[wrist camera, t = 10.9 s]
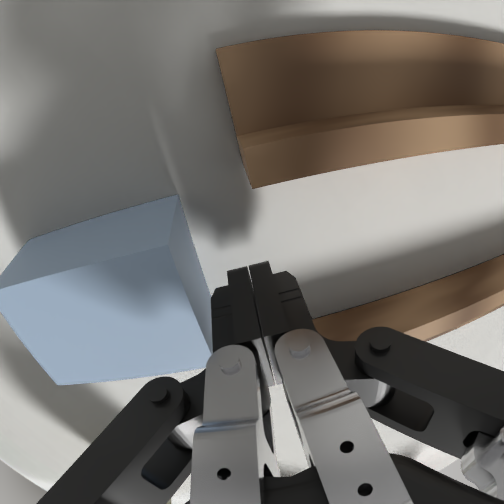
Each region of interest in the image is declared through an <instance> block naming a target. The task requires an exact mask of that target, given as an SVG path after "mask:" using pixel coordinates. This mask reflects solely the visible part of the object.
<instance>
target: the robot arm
mask: <svg viewBox="0 0 504 504" xmlns="http://www.w3.org/2000/svg"><path fill="white" fill-rule="evenodd" d="M249 270H250V275H251V279H250V275H249V271H248V268H247V266H246V267H242V268H238V269H233V270H229V271H227V276H228V285H227V286H223V287H219V288H216V289H215V291H214V293H213V295H212V297H211V319H212V320H211V323H212V346H213V354H212V355H211V356H210V357H209V359H208V361H207V363H206V368H205V369H204V370H203V371H202V372H201V373H199V374H198V375H196V376H194V377H192V378H190V379H188V380H186V381H184V382H181V383H179V382H178V381H177V380H176V379H174V378H171V377H159V378H155V379H153V380H151V381H149V382H148V383H147V384H145V385H144V386H143V387H142V389H141V390H140V391H139V392H138V393H137V394H136V395H135V396H134V397H133V399H132V400H131V401H130V402H129V403H128V404H127V405H126V406H125V407H124V409H123V410H122V411H121V412H120V413H119V414H118V415H117V416H116V417H115V418H114V420H113V421H112V422H111V423H110V424H109V425H108V426H107V427H106V428H105V430H104V431H103V432H102V433H101V434H100V435H99V436H98V437H97V438H96V439H95V441H94V442H93V443H92V444H91V445H90V446H89V447H88V448H87V449H86V450H85V451H84V453H83V454H82V455H81V456H80V457H79V458H78V459H77V460H76V461H75V462H74V464H73V465H72V466H71V467H70V468H69V469H68V470H67V471H66V472H65V473H64V474H63V476H62V477H61V478H60V479H59V480H58V481H57V482H56V483H55V484H54V485H53V486H52V487H51V489H50V490H49V491H48V492H47V493H46V494H45V495H44V496H43V497H42V498H41V499H40V500H39V502H38V503H37V504H166V503H167V502H168V501H169V500H170V498H171V497H172V496H173V495H174V494H175V492H176V491H177V490H178V489H179V487H180V486H181V485H182V484H183V482H184V481H185V480H186V478H187V477H188V476H189V475H190V473H191V491H190V500H189V501H188V502H186V503H185V504H504V371H501V370H499V369H496V368H493V367H491V366H488V365H485V364H483V363H480V362H477V361H475V360H472V359H469V358H467V357H464V356H461V355H459V354H456V353H454V352H451V351H448V350H446V349H443V348H440V347H438V346H435V345H433V344H430V343H428V342H425V341H422V340H420V339H417V338H415V337H412V336H410V335H407V334H404V333H402V332H399V331H397V330H394V329H392V328H389V327H373V328H370V329H367V330H365V331H364V332H362V333H361V334H360V335H359V336H358V338H357V340H356V341H334V340H330V339H327V338H325V337H323V336H322V335H321V334H319V333H318V331H317V330H316V328H315V326H314V324H313V321H312V318H311V316H310V313H309V311H308V308H307V306H306V303H305V301H304V298H303V296H302V293H301V291H300V288H299V286H298V283H297V281H296V278H295V277H294V276H292V275H291V274H290V273H288V272H287V271H284V272H280V273H276V274H272V271H271V268H270V264H269V261H266V262H262V263H258V264H254V265H249ZM251 280H252V282H251ZM252 284H253V286H252ZM253 289H254V290H253ZM269 358H270V360H269ZM270 362H271V365H272V369H273V372H274V376H275V380H276V383H277V384H283V387H284V391H285V395H286V399H287V403H288V406H289V409H290V412H291V415H292V418H293V421H294V424H295V427H296V430H297V432H298V435H299V438H300V441H301V444H302V447H303V450H304V453H305V456H306V460H307V463H308V466H309V468H308V469H306V470H304V471H302V472H300V473H298V474H296V475H294V476H291V477H281V476H280V470H279V466H278V462H277V456H276V447H275V437H274V427H273V417H272V408H271V398H270V393H269V388H268V387H269V386H274V385H275V383H274V379H273V374H272V369H271V365H270ZM371 418H372V419H374V420H376V421H378V422H380V423H382V424H384V425H386V426H388V427H391V428H393V429H395V430H397V431H399V432H401V433H403V434H405V435H407V436H409V437H412V438H414V439H416V440H418V441H420V442H422V443H425V444H427V445H429V446H431V447H434V448H436V449H438V450H441V451H443V452H445V453H448V454H450V455H452V456H455V457H457V458H460V459H461V470H462V473H463V475H464V476H465V478H466V479H467V480H469V481H470V482H472V483H474V484H475V485H476V486H477V487H478V489H479V490H477V489H474V488H472V487H470V486H467V485H465V484H463V483H461V482H459V481H456V480H454V479H452V478H450V477H448V476H446V475H444V474H442V473H439V472H437V471H435V470H433V469H431V468H429V467H427V466H425V465H423V464H421V463H419V462H417V461H415V460H413V459H411V458H408V457H405V456H402V455H397V454H390V453H388V451H387V449H386V447H385V445H384V443H383V441H382V439H381V437H380V435H379V433H378V431H377V429H376V427H375V425H374V423H373V421H372V419H371Z"/></svg>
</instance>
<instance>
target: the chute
mask: <svg viewBox="0 0 504 504" xmlns="http://www.w3.org/2000/svg"><path fill="white" fill-rule="evenodd" d="M216 54H217V58H218V62H219V66H220V70H221V74H222V78H223V82H224V86H225V91H226V95H227V99H228V103H229V107H230V111H231V115H232V120H233V124H234V128H235V132H236V136H237V140H238V145H239V149H240V153H241V157H242V161H243V166H244V168H245V171H246V174H247V176H248V179H249V182H250V184H251V187H252V189H255V188H259V187H263V186H267V185H272V184H276V183H280V182H285V181H289V180H294V179H298V178H303V177H307V176H312V175H317V174H321V173H326V172H331V171H336V170H341V169H346V168H351V167H356V166H361V165H367V164H372V163H377V162H383V161H388V160H394V159H400V158H406V157H412V156H418V155H424V154H431V153H437V152H444V151H451V150H458V149H465V148H473V147H481V146H489V145H498V144H504V44H503V43H498V42H493V41H488V40H482V39H477V38H470V37H464V36H456V35H448V34H439V33H428V32H414V31H390V30H361V31H336V32H321V33H310V34H300V35H291V36H284V37H276V38H270V39H263V40H257V41H252V42H246V43H241V44H236V45H231V46H226V47H222V48H217V49H216ZM502 306H504V254H503V255H501V256H499V257H496V258H494V259H491V260H489V261H486V262H484V263H481V264H479V265H476V266H474V267H471V268H469V269H466V270H464V271H461V272H458V273H456V274H453V275H450V276H448V277H445V278H442V279H439V280H437V281H434V282H431V283H428V284H425V285H422V286H420V287H417V288H414V289H411V290H408V291H405V292H402V293H399V294H396V295H393V296H390V297H387V298H384V299H380V300H377V301H374V302H371V303H368V304H364V305H361V306H358V307H355V308H351V309H348V310H344V311H341V312H338V313H334V314H331V315H327V316H324V317H320V318H316V319H313V320H312V321H313V324H314V326H315V328H316V330H317V331H318V333H319V334H321V335H322V336H323V337H325V338H327V339H330V340H334V341H356V340H357V338H358V336H359V335H360V334H361V333H362V332H364V331H365V330H367V329H370V328H373V327H389V328H392V329H394V330H397V331H399V332H402V333H404V334H407V335H410V336H412V337H415V338H417V339H420V340H422V341H425V342H426V341H429V340H431V339H434V338H436V337H438V336H441V335H443V334H445V333H448V332H450V331H452V330H454V329H457V328H459V327H461V326H463V325H465V324H468V323H470V322H472V321H474V320H476V319H478V318H480V317H482V316H484V315H486V314H488V313H490V312H492V311H494V310H496V309H498V308H500V307H502Z"/></svg>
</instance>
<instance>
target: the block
mask: <svg viewBox="0 0 504 504" xmlns="http://www.w3.org/2000/svg"><path fill="white" fill-rule="evenodd" d="M0 312H1V313H2V315H3V316H4V318H5V319H6V321H7V322H8V323H9V325H10V326H11V328H12V329H13V331H14V332H15V333H16V335H17V336H18V337H19V339H20V340H21V341H22V343H23V344H24V345H25V347H26V348H27V349H28V351H29V352H30V353H31V354H32V356H33V357H34V358H35V359H36V361H37V362H38V363H39V364H40V366H41V367H42V368H43V369H44V370H45V371H46V373H47V374H48V375H49V376H50V377H51V378H52V380H53V381H54V382H55V383H56V384H57V385H71V384H84V383H96V382H106V381H116V380H125V379H133V378H141V377H149V376H156V375H163V374H170V373H176V372H182V371H188V370H194V369H200V368H206V363H207V361H208V359H209V357H210V356H211V355H212V354H213V346H212V323H211V320H212V319H211V295H210V292H209V289H208V286H207V283H206V280H205V277H204V274H203V271H202V268H201V265H200V262H199V259H198V256H197V253H196V250H195V247H194V244H193V240H192V237H191V234H190V231H189V228H188V225H187V221H186V218H185V215H184V212H183V208H182V205H181V202H180V198H179V195H174V196H170V197H166V198H162V199H159V200H155V201H151V202H148V203H144V204H140V205H137V206H133V207H130V208H126V209H123V210H120V211H116V212H113V213H109V214H106V215H103V216H99V217H96V218H93V219H90V220H87V221H83V222H80V223H77V224H74V225H71V226H68V227H65V228H62V229H59V230H56V231H53V232H50V233H47V234H44V235H41V236H38V237H35V238H33V239H30V240H28V241H27V243H26V244H25V245H24V246H23V247H22V249H21V250H20V251H19V252H18V254H17V255H16V256H15V257H14V259H13V260H12V261H11V262H10V264H9V265H8V266H7V268H6V269H5V270H4V271H3V273H2V274H1V275H0Z"/></svg>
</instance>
